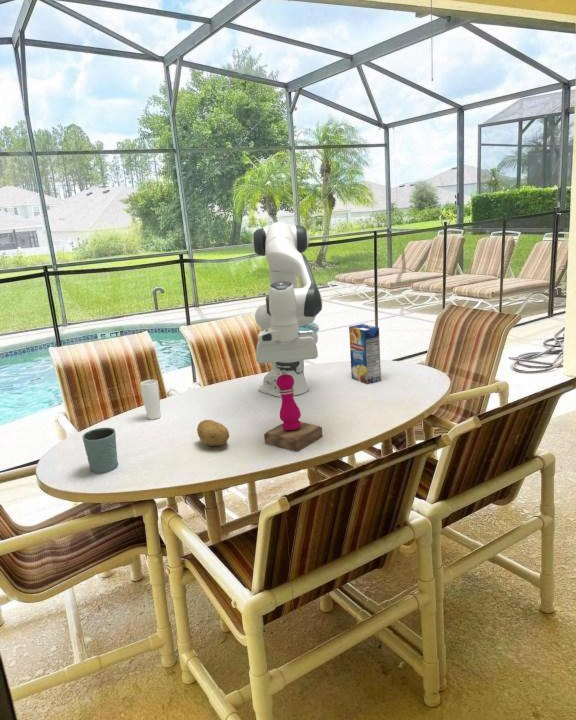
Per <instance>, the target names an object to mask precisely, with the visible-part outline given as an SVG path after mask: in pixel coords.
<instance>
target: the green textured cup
mask: <svg viewBox="0 0 576 720" xmlns="http://www.w3.org/2000/svg"><path fill="white" fill-rule="evenodd" d="M82 441H83V445H84V449H85V453H86V456H87V462H88V464H89V465H88V466H89V470H90V471H91V473H92V474H96V475H97V474H98V475H99V474H106V473H109V472H111V471H114V470H116V469H117V468H118V465H119V463H118V451H117V436H116V430H115V428H112V427H99V428H93V429H91V430H88V431H86V432H85V433H84V434H83V435H82Z"/></svg>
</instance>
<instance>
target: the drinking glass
mask: <svg viewBox="0 0 576 720" xmlns="http://www.w3.org/2000/svg"><path fill="white" fill-rule="evenodd" d="M158 381H159V380H157V379H146V380H143V381H141V382H140V390H141V391H140V392H141V396H142V397H141V398H142V400H143V404H144V407H145V408H144V409H145V412H146V416H147V419H148V420H150V421H151V420H152V421H153V420H157V419H160V418H161V404H160V403H161V401H160V398H161V397H160V386H159V382H158Z"/></svg>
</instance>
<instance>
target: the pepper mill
mask: <svg viewBox="0 0 576 720" xmlns="http://www.w3.org/2000/svg"><path fill="white" fill-rule="evenodd" d="M286 373H287V372H286V370H282V372H281V374H282V375H281V376H279V377H278V378H277V382H276V383H277V386H278V387H279V388H280V390H279V391H280V394H281V397H280V398H281V406H280V410H279V419H280V421H282V422H283V423H281V424H282V426H283V429H284V430H294V429H298V428H300V427H301V422H302V421H301V420H300V418H301V417H302V413H301V409H300V408H299V406H298V404H297V403H296V401H295V397H294V395H293V392H294V388H293V385H294V379H293V377H292V376H291V375H288V374H286Z"/></svg>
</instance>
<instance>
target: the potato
mask: <svg viewBox="0 0 576 720" xmlns="http://www.w3.org/2000/svg"><path fill="white" fill-rule="evenodd" d="M196 431H197V436H198V438H199V440H200V441H201V442H202V443H203V444H205V445H206V446H209V447H220V446H221V447H222V446H223V445H224V444H226V443H227V442H228V441H229V438H230V432H229V430H228V427H226V426H225V425H224V424H222V423H220V422H217V421H214V420H212V419H204V420H201V421H200V422H199V423H198V425H197V429H196Z"/></svg>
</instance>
